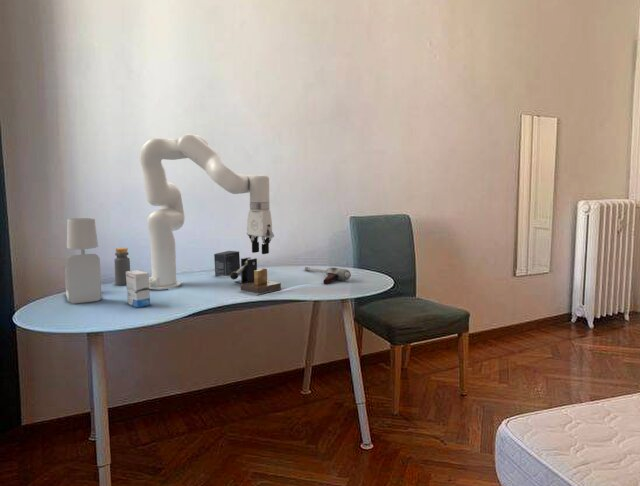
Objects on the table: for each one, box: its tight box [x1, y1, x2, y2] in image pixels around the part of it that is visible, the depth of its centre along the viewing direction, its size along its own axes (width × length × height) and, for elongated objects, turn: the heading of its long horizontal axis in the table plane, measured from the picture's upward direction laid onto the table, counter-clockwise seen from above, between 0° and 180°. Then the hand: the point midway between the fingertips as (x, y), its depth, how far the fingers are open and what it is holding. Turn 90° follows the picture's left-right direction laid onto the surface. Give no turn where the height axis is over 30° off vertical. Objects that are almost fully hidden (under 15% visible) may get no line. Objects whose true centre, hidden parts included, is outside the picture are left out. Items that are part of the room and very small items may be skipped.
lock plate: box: [240, 279, 282, 297], centre depth 208 cm, size 12×10×3 cm
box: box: [213, 250, 241, 277], centre depth 239 cm, size 11×7×10 cm, turn 154°
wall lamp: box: [64, 217, 103, 304], centre depth 193 cm, size 10×21×30 cm, turn 32°
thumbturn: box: [254, 267, 268, 285], centre depth 207 cm, size 5×2×6 cm, turn 141°
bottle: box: [113, 247, 131, 286], centre depth 219 cm, size 6×6×15 cm
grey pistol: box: [304, 266, 352, 285], centre depth 236 cm, size 5×35×13 cm
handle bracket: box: [234, 256, 258, 285], centre depth 221 cm, size 9×8×11 cm
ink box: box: [126, 269, 151, 308], centre depth 185 cm, size 9×5×12 cm, turn 45°
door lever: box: [229, 257, 251, 281], centre depth 218 cm, size 12×3×3 cm, turn 141°
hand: (260, 252), depth 206 cm, fingers open, 4 cm apart
